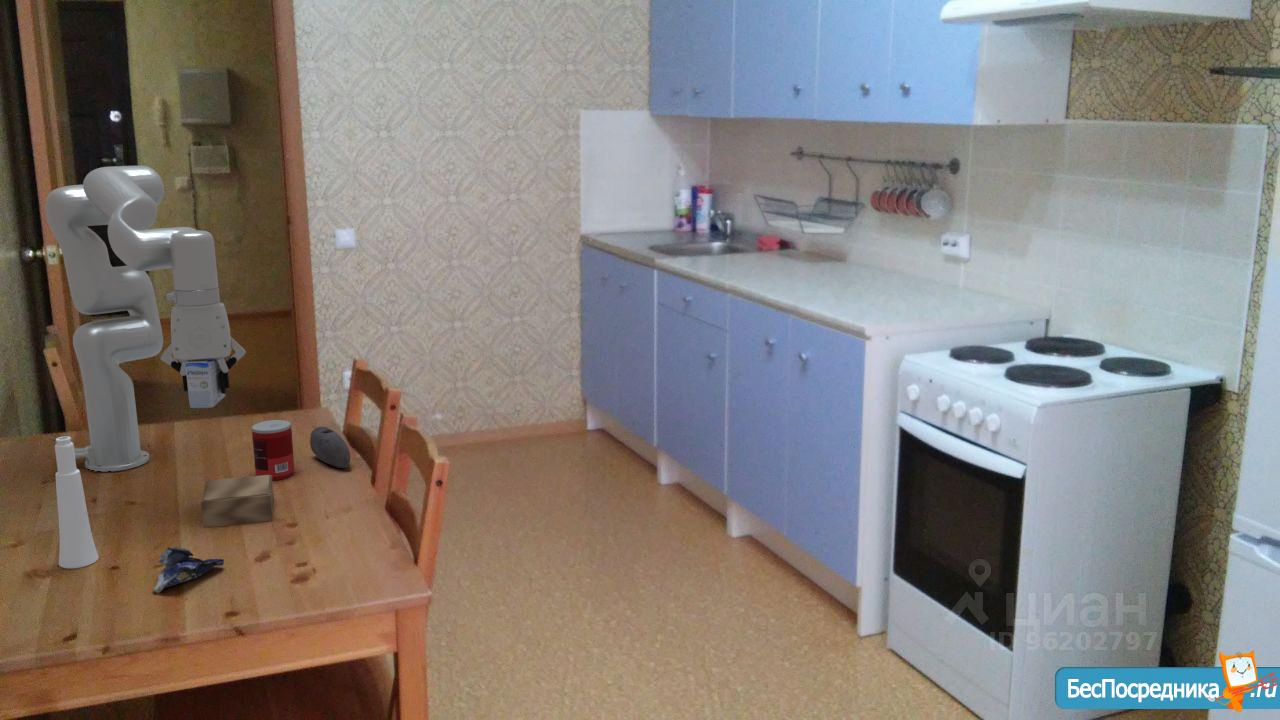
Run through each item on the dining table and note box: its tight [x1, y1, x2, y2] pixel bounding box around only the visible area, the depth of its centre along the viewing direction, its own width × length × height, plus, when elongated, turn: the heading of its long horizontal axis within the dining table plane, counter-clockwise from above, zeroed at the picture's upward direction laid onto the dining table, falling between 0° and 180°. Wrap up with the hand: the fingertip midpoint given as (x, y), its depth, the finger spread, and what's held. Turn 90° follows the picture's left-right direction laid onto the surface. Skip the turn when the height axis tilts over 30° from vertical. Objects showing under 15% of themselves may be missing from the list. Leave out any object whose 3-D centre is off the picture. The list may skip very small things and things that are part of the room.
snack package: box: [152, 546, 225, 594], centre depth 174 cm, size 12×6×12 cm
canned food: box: [251, 419, 295, 482], centre depth 223 cm, size 8×8×11 cm
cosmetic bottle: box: [54, 436, 99, 570], centre depth 178 cm, size 6×6×22 cm
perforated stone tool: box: [309, 426, 351, 469], centre depth 231 cm, size 15×5×7 cm, turn 38°
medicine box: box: [185, 359, 226, 409], centre depth 199 cm, size 8×4×9 cm, turn 5°
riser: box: [200, 475, 275, 529], centre depth 202 cm, size 12×12×5 cm
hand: (207, 392), depth 200 cm, fingers closed on medicine box, 5 cm apart
